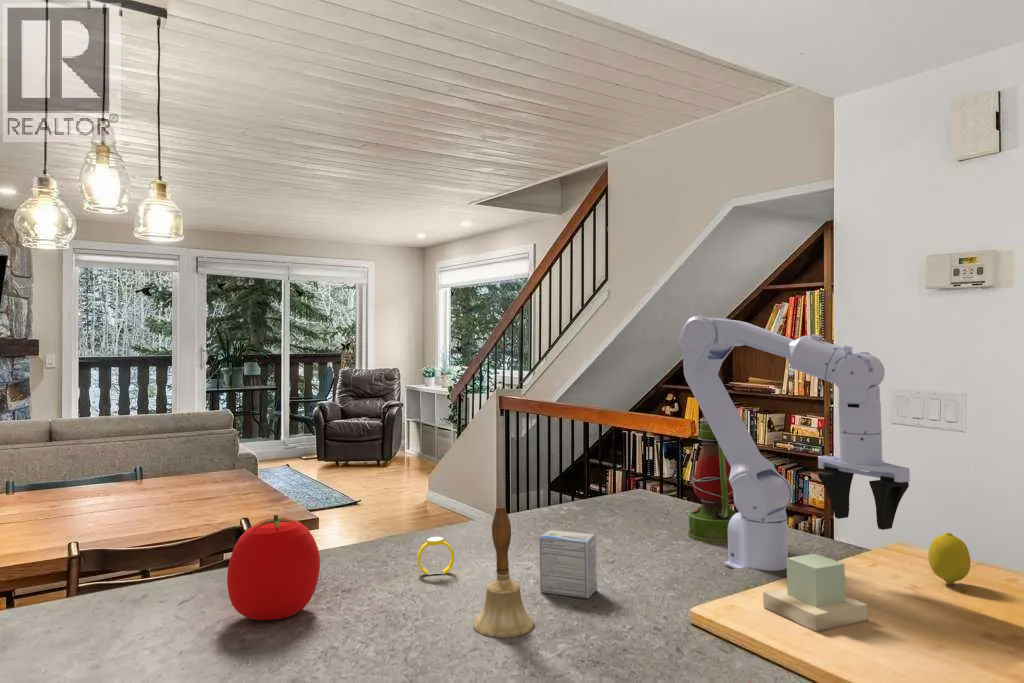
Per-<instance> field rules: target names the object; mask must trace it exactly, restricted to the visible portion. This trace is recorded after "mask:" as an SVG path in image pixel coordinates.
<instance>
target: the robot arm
mask: <svg viewBox="0 0 1024 683" xmlns="http://www.w3.org/2000/svg"><path fill="white" fill-rule="evenodd" d="M677 342H678V344H679V346H680V348H681V349H682V363H683V364H682V366H683V375H684V378H685V381H686V383H687V385H688V387H689V389H690V391H691V392H692V395H693V396H694V399H695V400H696V403H697V404H698V406H699V409H700V410H701V412H702V414H703V416H704V417H705V418H706V420H707V422H708V424H709V426H710V428H711V430H712V432H713V433H714V435H715V437H716V439H717V441H718V443H719V445H720V447H721V449H722V451H723V453H724V455H725V457H726V459H727V461H728V463H729V464H730V466H731V472H730V477H729V482H730V484H731V486H732V489H733V494H734V495H733V503H734V505H735V507H736V510H737V511H738V512H737V513H736V514H735V515H733V516H732V518H731V519H730V521H729V524H728V544H727V560H726V561H724V565H725V566H727V567H729V568H732V569H734V570H735V569H736V570H737V569H742V568H743V569H744V568H751V569H754V570H759V571H760V570H761V571H771V572H773V571H781V570H785V569H786V570H787V558H789V553H788V551H789V550H788V514H787V511H786V508H787V507H789V506H790V505H791V502H792V500H793V495H794V494H793V492H794V491H793V488H792V485H791V483H790V482H789V481H788V479H787V478H785V477H784V476H783V475H782V474H780V473H779V472H778V470H777V469H776V468H775V465H774V464H773V463H772V462H771V461H769V460H768V459H767V458H765V457H764V456H763V455H762V454H761V452H760V450H759V449H758V447H757V445H756V443H755V441H754V439H753V438H752V436H751V434H750V431H749V430H748V428H747V427H746V424H745V423H744V421H743V419H742V417H741V415H740V414H739V411H738V409H737V407H736V406H735V404H734V402H733V400H732V398H731V396H730V394H729V392H728V391H727V389H726V387H725V385H724V384H723V382H722V379H721V378H720V376H719V372H720V370H721V367H722V364H723V362H724V361H725V360H726V358H727V357H728V355H730V353H731V352H732V350H733V349H734V348H735V347H742V346H747V347H749V348H750V347H751V348H753V349H756V350H760V351H763V352H765V353H770V354H772V355H774V356H775V355H776V356H779V357H782V358H785V359H787V362H788V363H789V365H790V367H791V368H792V369H793V370H795V371H799V372H801V373H804V374H806V375H809V376H812V377H814V378H818V379H820V380H823V381H826V382H828V383H834V385H835V386H836V387H837V388H838V424H839V425H838V428H839V429H838V430H839V431H838V432H839V456H834V455H819V456H817V461H818V462H817V468H818V469H821V470H823V471H820V472H818V473H817V476H818V479H819V480H820V482H821V483H822V485H823V487H824V488H825V491H826V493H827V495H828V498H829V501H830V504H831V506H832V510H833V515H834V517H835V519H838V520H839V519H846V518H847V519H848V518H849V516H850V515H849V514H850V493H851V487H852V482H853V478H854V475H855V474H856V475H860V476H866V477H872V478H876V480H875V479H874V480H869V481H868V483H869V486H870V488H871V492H872V495H873V499H874V504H875V514H876V525H877V529H878V530H883V531H884V530H892V529H893V524H894V522H895V517H896V514H897V509H898V507H899V505H900V502H901V500H902V498H903V497H904V495H905V493H906V492H907V490H908V488H909V487H910V485H909V482H910V481H911V478H910V477H911V476H910V475H911V473H910V467H905V466H901V465H900V466H899V465H897V464H892V463H888V462H885V460H883V444H882V443H883V442H882V441H883V440H882V439H883V438H882V436H883V434H882V433H883V432H882V430H883V429H882V405H881V391H880V390H881V388H880V384H882V382H883V380H884V378H885V373H886V372H885V367H884V365H883V362H882V361H881V360H880V359H879V358H877V357H876V356H875V355H872V354H871V353H869V352H867V351H862V352H861V351H859V352H856V353H853V347H852V346H849V345H843V346H840V345H836V344H833V343H830V342H827V341H825V340H823V336H822V335H818V334H811V336H809V335H803V336H800V337H798V338H797V339H792V338H789V337H787V336H784V335H781V334H779V333H776V332H775V331H771V330H769V329H766V328H763V327H760V326H758V325H754V324H752V323H750V322H746V321H742V320H735V319H730V318H728V317H727V318H726V317H707V316H702V315H696V316H692V317H690V318H689V319H688V320H686V322H685V323H684V325H683V326H682V329H681V332H680V335H679V337H678V340H677ZM877 478H878V479H877Z"/></svg>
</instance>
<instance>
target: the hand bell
mask: <svg viewBox="0 0 1024 683" xmlns="http://www.w3.org/2000/svg"><path fill="white" fill-rule="evenodd" d="M506 509H507V508H506V506H503V505H498V506H495V511H494V515H493V518H492V521H491V522H492V523H491V535H492V536H491V537H492V542H493V545H494V546H493V547H494V550H495V555H496V571H495V572H496V579H495V580H493V581H492V582H489V583H488V584H487V586H486V592H485V600H484V604H483V608H482V610H481V612H480V613H479V614H478V615H477V617H475V618H474V621H473V624H472V628H473V630H474V632H477V633H479V634H480V635H482V636H485V637H491V638H498V639H499V638H500V639H501V638H503V639H505V638H506V639H507V638H514V637H519V636H520V637H521V636H522V635H526V634H528V633H530V632H531V631H532V630H533V629H534V628H535V621H534V618H533V617H532V616H531V615H530V614H529V613H528V612H527V610H526V609H525V606H524V603H523V600H522V594H521V588H520V585H519V583H518V582H516V581H513V580H512V579H511V577H510V568H509V548H510V544H511V539H512V527H511V526H512V525H511V521H510V517H509V515H508V512H507V510H506Z"/></svg>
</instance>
